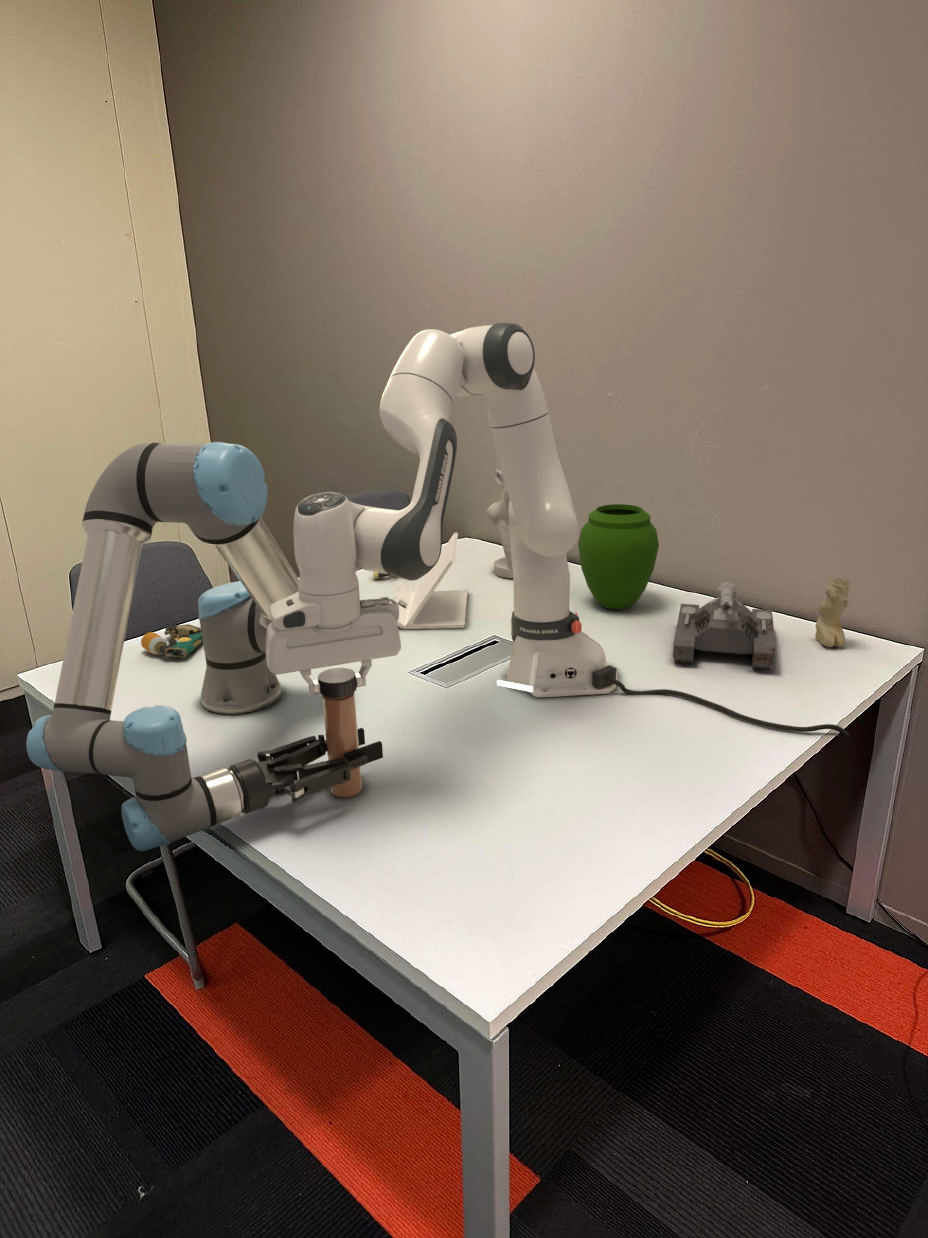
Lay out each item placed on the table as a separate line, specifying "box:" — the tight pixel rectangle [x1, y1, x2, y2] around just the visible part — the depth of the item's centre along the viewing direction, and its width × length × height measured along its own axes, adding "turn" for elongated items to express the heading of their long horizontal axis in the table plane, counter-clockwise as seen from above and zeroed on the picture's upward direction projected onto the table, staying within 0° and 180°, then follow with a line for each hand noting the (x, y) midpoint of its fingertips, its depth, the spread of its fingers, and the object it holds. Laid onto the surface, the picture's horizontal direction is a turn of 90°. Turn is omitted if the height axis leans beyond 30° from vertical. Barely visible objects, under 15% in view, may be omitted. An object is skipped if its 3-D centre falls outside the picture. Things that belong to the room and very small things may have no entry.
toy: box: [672, 581, 777, 670], centre depth 184 cm, size 25×20×15 cm
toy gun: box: [372, 571, 392, 580], centre depth 246 cm, size 3×19×10 cm
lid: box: [317, 667, 358, 698], centre depth 131 cm, size 6×6×2 cm
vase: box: [577, 503, 660, 610], centre depth 210 cm, size 20×20×24 cm
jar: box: [321, 692, 363, 798], centre depth 134 cm, size 5×5×19 cm
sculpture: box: [814, 576, 852, 648], centre depth 185 cm, size 6×7×15 cm
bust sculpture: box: [485, 460, 513, 579], centre depth 231 cm, size 16×24×35 cm
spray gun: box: [140, 623, 203, 658], centre depth 196 cm, size 4×17×15 cm
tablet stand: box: [394, 531, 468, 630], centre depth 211 cm, size 18×25×17 cm
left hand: (372, 742), depth 138 cm, fingers closed on jar, 5 cm apart
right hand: (337, 689), depth 131 cm, fingers closed on lid, 6 cm apart
